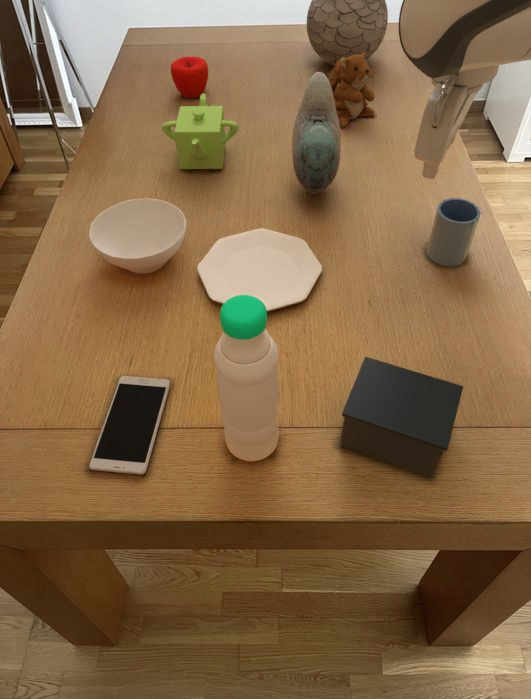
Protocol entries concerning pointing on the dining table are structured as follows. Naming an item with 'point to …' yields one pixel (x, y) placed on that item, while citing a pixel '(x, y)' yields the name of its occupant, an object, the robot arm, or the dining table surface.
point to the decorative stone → (316, 136)
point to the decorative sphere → (346, 27)
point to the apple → (190, 76)
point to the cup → (452, 231)
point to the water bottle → (247, 379)
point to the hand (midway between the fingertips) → (438, 158)
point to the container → (400, 416)
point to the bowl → (138, 234)
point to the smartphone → (130, 425)
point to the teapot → (200, 135)
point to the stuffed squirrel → (351, 88)
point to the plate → (260, 268)
